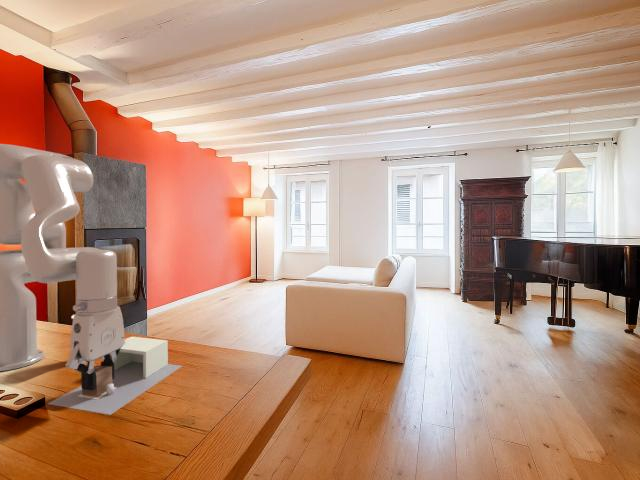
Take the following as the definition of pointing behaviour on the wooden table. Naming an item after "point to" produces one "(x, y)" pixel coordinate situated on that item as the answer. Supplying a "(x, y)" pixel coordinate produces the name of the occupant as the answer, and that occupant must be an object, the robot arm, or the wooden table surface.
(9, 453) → the wooden table surface
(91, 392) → the block
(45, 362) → the wooden table surface
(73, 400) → the base board
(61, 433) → the wooden table surface
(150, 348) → the housing cover
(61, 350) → the wooden table surface
